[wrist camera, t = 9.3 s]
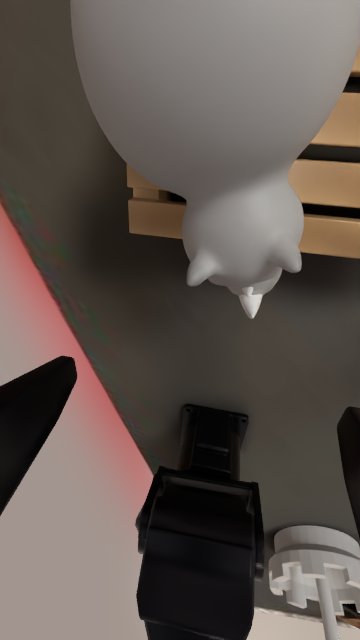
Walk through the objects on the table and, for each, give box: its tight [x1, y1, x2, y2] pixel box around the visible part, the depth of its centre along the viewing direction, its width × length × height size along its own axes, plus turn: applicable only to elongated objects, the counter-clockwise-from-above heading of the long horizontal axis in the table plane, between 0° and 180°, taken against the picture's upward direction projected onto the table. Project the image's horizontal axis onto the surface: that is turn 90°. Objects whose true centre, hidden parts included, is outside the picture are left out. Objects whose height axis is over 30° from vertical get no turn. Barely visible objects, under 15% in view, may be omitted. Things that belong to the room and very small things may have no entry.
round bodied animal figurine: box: [71, 0, 360, 319], centre depth 9 cm, size 7×12×8 cm, turn 14°
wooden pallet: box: [126, 45, 360, 259], centre depth 14 cm, size 9×18×4 cm, turn 87°
